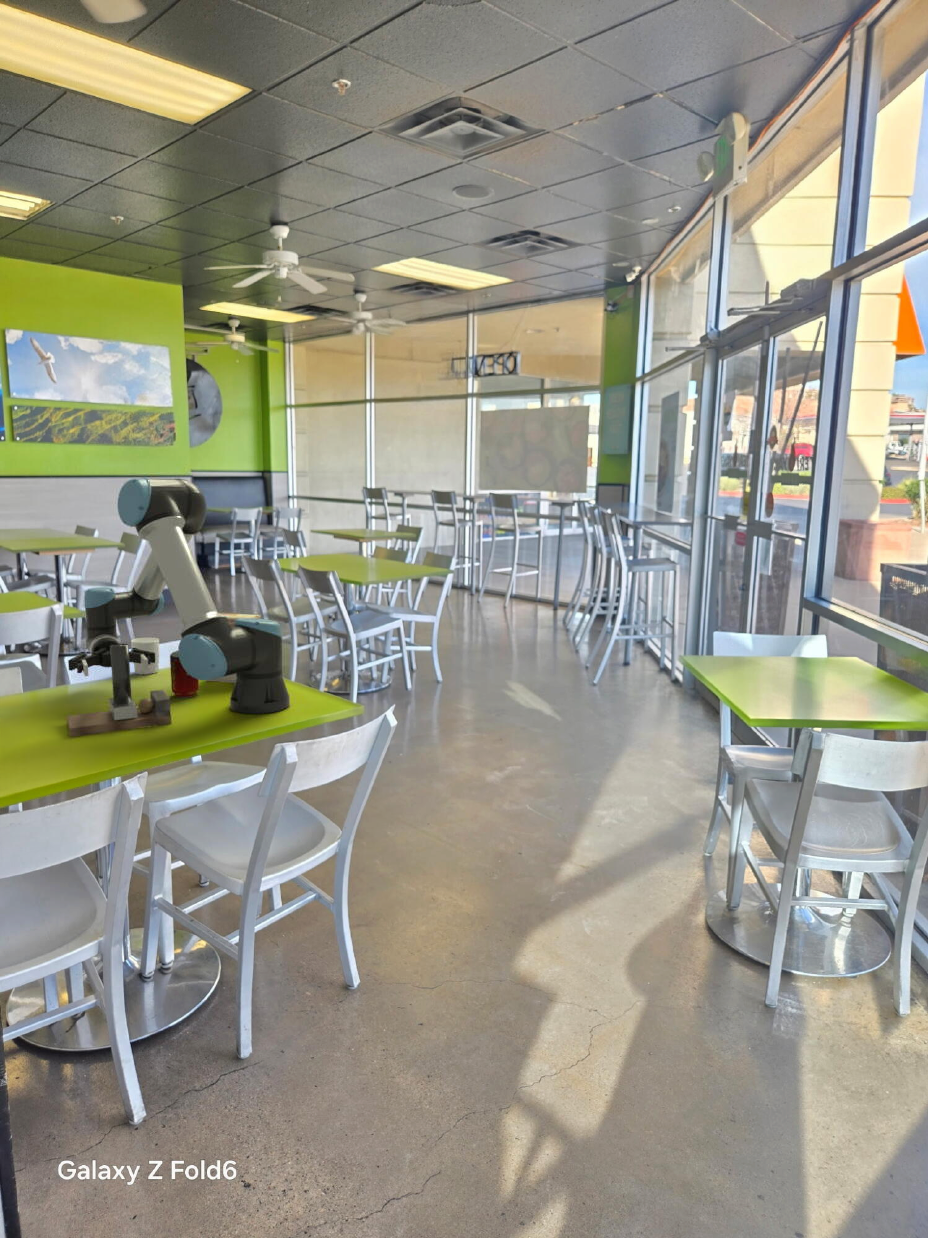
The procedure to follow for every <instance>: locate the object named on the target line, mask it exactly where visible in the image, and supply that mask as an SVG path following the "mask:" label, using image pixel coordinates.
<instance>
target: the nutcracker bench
mask: <svg viewBox="0 0 928 1238" xmlns="http://www.w3.org/2000/svg"><path fill="white" fill-rule="evenodd" d="M149 693H150V698H149V697H143V698H142V699H140V700H139V702H138V704H137V718H130V719H122V720H114V718H113V716H112V714H111V711H110V710H106V711H105V710H104V711H97V712H88V713H81V714H80V713H79V714H71V715H66V722H67V728H68V732H69V735H70V737H74V738H75V737H80V736H88V735H97V734H103V733H109V732H111V733H112V732H118V731H117V730H120V731H124V730H125V731H126V730H133V729H132V728H135V729H141V728H140V727H143V728H148V726H150V727H155V726H154V725H158V726H165V724H166V725H172V713H171V699H170V697H169V696H168V695H167V693H166V692H165V691H164V689H157V690H150V691H149ZM96 733H97V734H96Z"/></svg>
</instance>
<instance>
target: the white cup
mask: <svg viewBox="0 0 928 1238" xmlns="http://www.w3.org/2000/svg"><path fill="white" fill-rule="evenodd" d="M130 644H131V649H132V648H137V649H139V650H144V651H148V652H153V653H155V663H151V664H150V665H148V670H145V669H144V668H143V667H142V665H141V663H133V665H134V666H133V668H134V669H133V670H134V673H135V674H136V675H143V674H144V675H151V673H153V674H157V673H158V672H159V663H160V639H159V638H157V637H139V638H134V639H131V640H130ZM157 671H158V672H157ZM156 672H157V673H156Z"/></svg>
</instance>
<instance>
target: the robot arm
mask: <svg viewBox="0 0 928 1238" xmlns="http://www.w3.org/2000/svg"><path fill="white" fill-rule="evenodd" d="M207 510H208V509H207V502H206V498H205V496H204V493H203V492H202V490H201V489H200V488H199V487H198V486H197V485H196V484H195V483H193V481H190V480H188V479H185V478H147V477H142V478H132V479H129V480H127V481H126V482H124V483H123V485H122V487H121V488H120V490H119V493H118V498H117V513H118V516H119V518H120V521H122V523H123V524H124V525H126V526H128V527H131V528H134V527H135V530H136V533H137V534H138V537H139V538H140V539H142V540H143V541H144V540H145V541H147V542H148V544H149V547H150V549H151V552H150V554H149V556H148V557H147V560H146V561H145V564H144V565H143V566H142V567H143V568H142V570H141V571H140V574H139V575H138V577H137V579H136V582H135V583H134V585H133V587H132V589H131V590H130V591H129V590H128V591H123V592H115V590H114V588H112V587H109V586H108V587H107V586H102V587H101V586H100V587H98V586H97V587H91V588H87V589H86V590H85V592H84V609H85V619H86V639H85V643H86V648H87V650H88V652H89V653H90V654H88V653H87V652H85V651H80V652H79V654H78V655H75V656H74V657H72V658H70V659H68V661H67V662H68V671H75V670H76V673H77V674H82V673H83V675H84V677H89V668H90V667H93V666H99V667H103V668H112V667H111V652H110V645H113V644H121V643H120V642H119V640H118V637H117V636H118V634H117V633H118V632H117V621H118V620H119V621H120V620H125V619H132V618H139V617H148V616H151V615H155V614H156V615H157V614H159V613H160V612H162V611H163V609H164V607H165V606H164V603H165V599H164V595H163V591H164V589H165V587H166V586H167V589H168V592H169V594H170V596H171V599H172V601H173V603H174V605H175V608H176V610H177V612H178V615H179V617H180V619H181V622H182V625H183V628H182V630H181V633H180V636H181V639H180V641H179V643H178V648H177V650H179V651H180V652H179V653H178V655H179V659H180V662H181V664H182V666H183V668H184V669H185V671H186V672H187V673H188V674H189V675H191V676H192V677H194V678H196V679H198V681H206V680H211V679H219V678H221V677H224V676H228V675H232V674H236V681H235V683H234V686H233V689H232V692H231V695H230V699H229V704H230V705H229V707H230V709H231V711H234V712H236V713H241V714H251V715H252V714H253V715H256V714H269V713H270V714H271V713H274V712H279V711H283V710H285V709H287V708H289V706H290V704H291V701H290V694H289V692H288V688H287V686H286V683H285V681H284V677H283V654H282V653H283V645H282V644H283V642H282V641H283V640H282V639H283V635H282V628H281V624H280V623H279V622H278V621H276V620H271V619H264V618H261V619H252V618H239V619H236V620H235V622H234V627H231V626H230V624H229V621H228V619H227V617H226V616H224V615H221V614H219V613H220V612H218V610H217V607H216V604H215V603H214V601H213V599H212V598H213V597H212V596H211V593H210V591H209V589H208V586H207V584H206V582H205V579H204V578H203V575H202V572H201V570H200V567H199V565H198V564H197V563H198V562H197V561H196V559H195V556H194V555H193V552H192V549H191V546H190V545H189V543H190V541H191V539H192V537H193V536H195V535H197V534H199V532H200V531H201V529H202V527H203V526H204V524H205V521H206V516H207ZM129 663H132V664H134V663H141V665H142V667H143V668H144V669H145V670H148V665H150V664H151V663H155V653H153V652H148V651H144V650H139V649H137V648H132V647H131V649H130V650H129Z"/></svg>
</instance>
